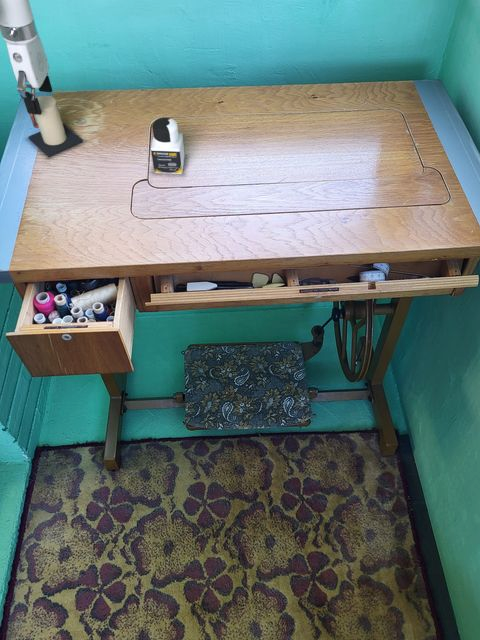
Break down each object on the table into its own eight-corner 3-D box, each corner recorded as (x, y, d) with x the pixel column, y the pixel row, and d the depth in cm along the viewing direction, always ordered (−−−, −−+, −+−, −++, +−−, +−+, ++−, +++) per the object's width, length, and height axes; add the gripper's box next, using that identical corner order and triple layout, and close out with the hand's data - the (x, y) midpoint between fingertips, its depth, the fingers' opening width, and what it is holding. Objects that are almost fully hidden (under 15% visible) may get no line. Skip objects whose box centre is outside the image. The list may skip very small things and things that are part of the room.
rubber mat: (48, 157, 135) (48, 155, 134) (29, 139, 139) (28, 136, 138) (82, 142, 139) (81, 139, 138) (62, 124, 142) (61, 122, 142)
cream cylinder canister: (69, 131, 140) (58, 96, 131) (63, 145, 136) (52, 110, 128) (40, 130, 140) (28, 94, 131) (34, 144, 136) (21, 108, 128)
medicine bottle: (154, 173, 133) (147, 131, 123) (157, 155, 137) (151, 113, 127) (182, 174, 133) (178, 132, 123) (184, 156, 137) (180, 114, 127)
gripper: (24, 49, 110) (46, 124, 125) (46, 11, 120) (64, 84, 134) (-12, 46, 110) (14, 121, 124) (13, 8, 120) (35, 82, 134)
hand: (40, 102), depth 129 cm, fingers open, 9 cm apart
